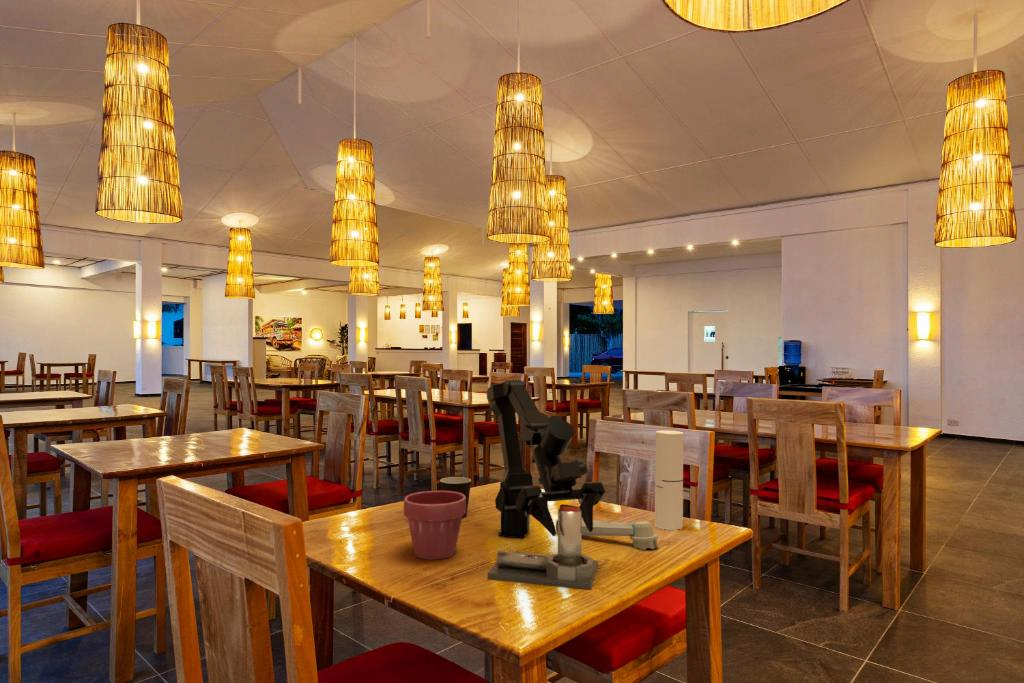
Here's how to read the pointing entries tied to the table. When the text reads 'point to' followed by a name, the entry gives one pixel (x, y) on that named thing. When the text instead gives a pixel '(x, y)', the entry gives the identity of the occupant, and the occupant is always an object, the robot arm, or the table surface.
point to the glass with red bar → (569, 535)
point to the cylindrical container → (669, 480)
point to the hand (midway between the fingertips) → (573, 533)
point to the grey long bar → (624, 532)
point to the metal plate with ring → (543, 570)
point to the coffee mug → (457, 487)
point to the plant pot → (434, 522)
